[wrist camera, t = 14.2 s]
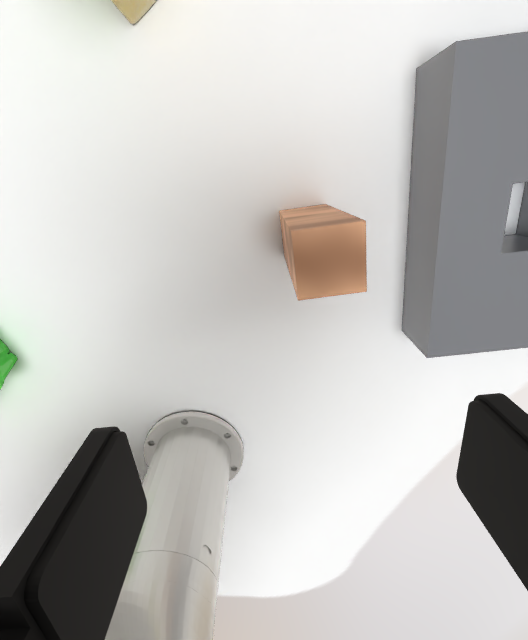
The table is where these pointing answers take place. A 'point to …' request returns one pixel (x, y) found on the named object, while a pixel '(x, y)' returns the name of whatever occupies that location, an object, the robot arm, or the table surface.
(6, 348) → the fruit basket
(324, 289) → the wooden block
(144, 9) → the tall beige block
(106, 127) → the table surface
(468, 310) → the grey block with hole
